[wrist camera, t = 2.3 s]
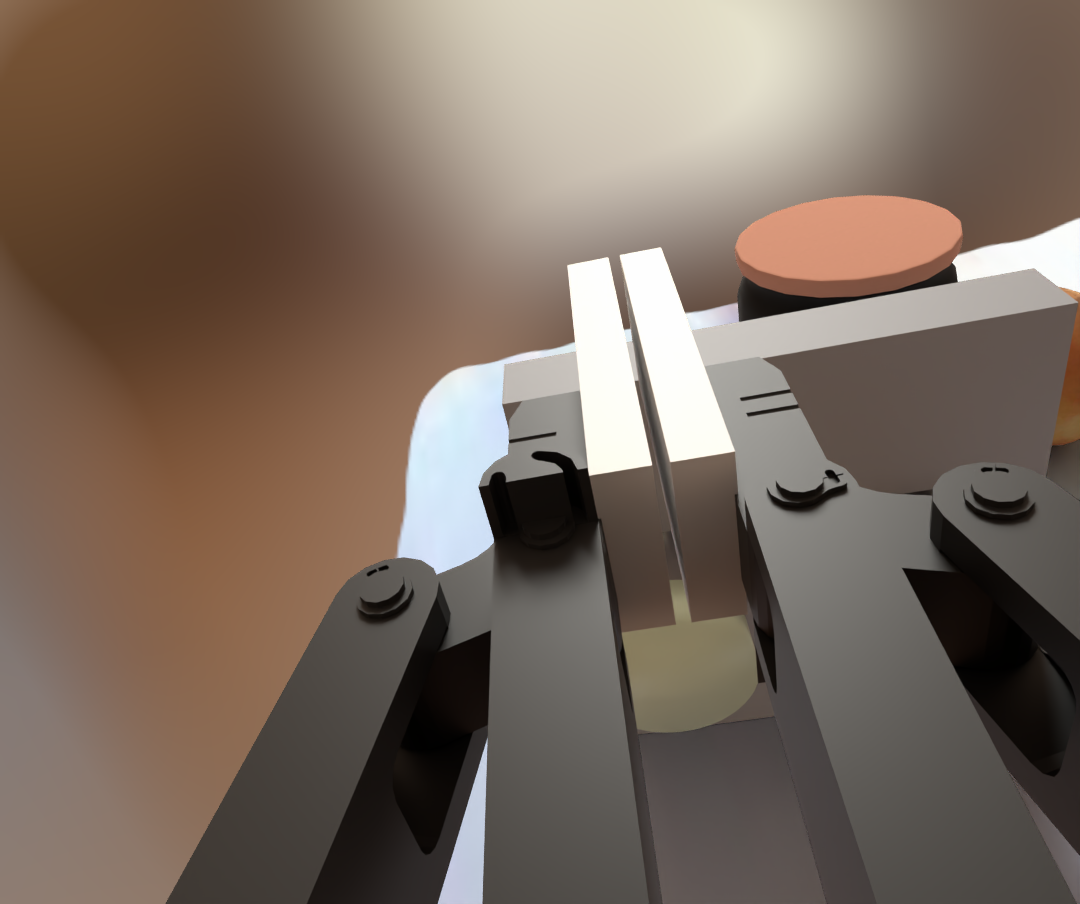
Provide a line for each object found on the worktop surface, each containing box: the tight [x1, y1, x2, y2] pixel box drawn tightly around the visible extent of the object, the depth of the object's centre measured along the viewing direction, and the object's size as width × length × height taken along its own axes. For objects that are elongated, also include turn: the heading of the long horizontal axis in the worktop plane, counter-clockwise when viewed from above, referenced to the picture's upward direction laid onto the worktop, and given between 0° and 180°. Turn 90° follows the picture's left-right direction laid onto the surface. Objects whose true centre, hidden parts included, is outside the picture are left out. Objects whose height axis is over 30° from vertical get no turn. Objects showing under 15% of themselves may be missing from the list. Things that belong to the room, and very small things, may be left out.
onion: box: [1052, 287, 1080, 446], centre depth 51 cm, size 10×10×10 cm
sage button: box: [622, 530, 758, 733], centre depth 33 cm, size 8×6×6 cm
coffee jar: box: [735, 195, 963, 322], centre depth 46 cm, size 11×11×18 cm
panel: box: [502, 269, 1078, 735], centre depth 36 cm, size 3×20×20 cm, turn 90°
